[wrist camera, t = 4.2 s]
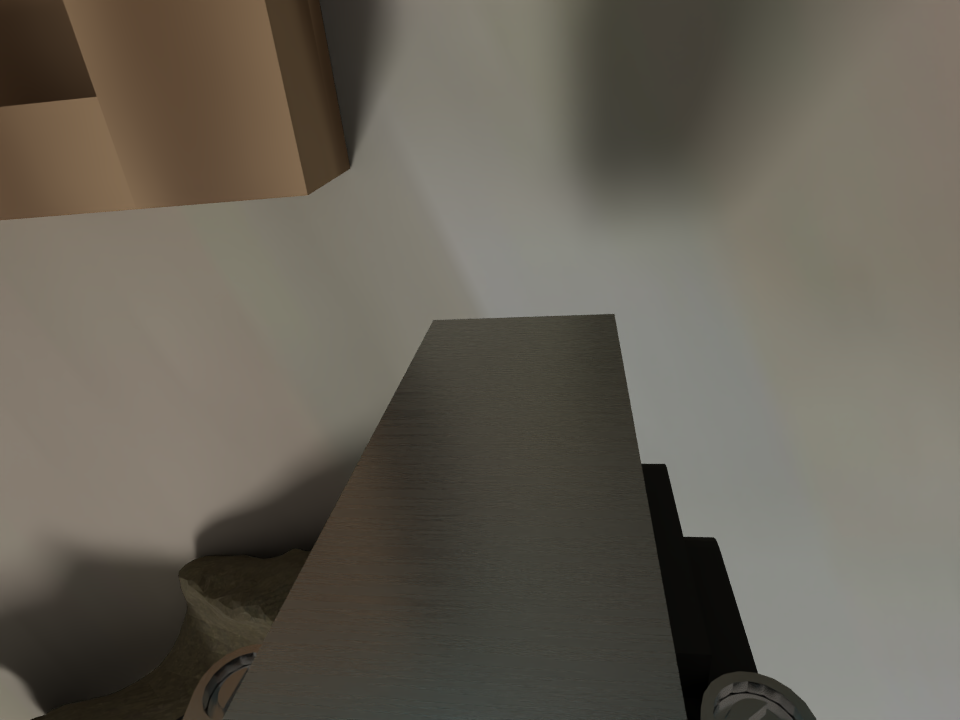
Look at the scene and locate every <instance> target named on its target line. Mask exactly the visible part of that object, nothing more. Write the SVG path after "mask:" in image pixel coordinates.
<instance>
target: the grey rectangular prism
mask: <svg viewBox="0 0 960 720" xmlns="http://www.w3.org/2000/svg"><path fill="white" fill-rule="evenodd" d="M222 720H687V716H686V711H685V705H684V700H683V694H682V688H681V683H680V677H679V672H678V666H677V661H676V655H675V649H674V644H673V638H672V633H671V627H670V622H669V616H668V610H667V605H666V599H665V594H664V588H663V583H662V577H661V571H660V566H659V560H658V555H657V549H656V543H655V538H654V532H653V527H652V521H651V516H650V510H649V504H648V499H647V493H646V488H645V482H644V477H643V471H642V465H641V460H640V454H639V449H638V443H637V438H636V432H635V426H634V421H633V415H632V410H631V404H630V399H629V393H628V387H627V382H626V376H625V371H624V365H623V360H622V354H621V348H620V343H619V337H618V332H617V326H616V321H615V315H614V314H600V315H571V316H542V317H513V318H483V319H454V320H433V322H432V324H431V326H430V328H429V330H428V331H427V333H426V335H425V337H424V339H423V341H422V343H421V345H420V347H419V348H418V350H417V352H416V354H415V356H414V358H413V360H412V362H411V364H410V365H409V367H408V369H407V371H406V373H405V375H404V377H403V379H402V381H401V382H400V384H399V386H398V388H397V390H396V392H395V394H394V396H393V398H392V399H391V401H390V403H389V405H388V407H387V409H386V411H385V413H384V415H383V416H382V418H381V420H380V422H379V424H378V426H377V428H376V430H375V432H374V433H373V435H372V437H371V439H370V441H369V443H368V445H367V447H366V449H365V450H364V452H363V454H362V456H361V458H360V460H359V462H358V464H357V466H356V467H355V469H354V471H353V473H352V475H351V477H350V479H349V481H348V483H347V484H346V486H345V488H344V490H343V492H342V494H341V496H340V498H339V500H338V501H337V503H336V505H335V507H334V509H333V511H332V513H331V515H330V517H329V518H328V520H327V522H326V524H325V526H324V528H323V530H322V532H321V534H320V535H319V537H318V539H317V541H316V543H315V545H314V547H313V549H312V551H311V553H310V554H309V556H308V558H307V560H306V562H305V564H304V566H303V568H302V570H301V571H300V573H299V575H298V577H297V579H296V581H295V583H294V585H293V587H292V588H291V590H290V592H289V594H288V596H287V598H286V600H285V602H284V604H283V605H282V607H281V609H280V611H279V613H278V615H277V617H276V619H275V621H274V622H273V624H272V626H271V628H270V630H269V632H268V634H267V636H266V638H265V639H264V641H263V643H262V645H261V647H260V649H259V651H258V653H257V655H256V656H255V658H254V660H253V662H252V664H251V666H250V668H249V670H248V672H247V673H246V675H245V677H244V679H243V681H242V683H241V685H240V687H239V689H238V690H237V692H236V694H235V696H234V698H233V700H232V702H231V704H230V706H229V707H228V709H227V711H226V713H225V715H224V717H223V719H222Z"/></svg>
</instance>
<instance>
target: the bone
mask: <svg viewBox="0 0 960 720" xmlns="http://www.w3.org/2000/svg"><path fill="white" fill-rule="evenodd" d="M311 551H312V550H310V551H303V550H300V549H292V550H290V551H289V552H287V553H285V554H283V555H281V556H277V557H274V558H267V559H261V558H256V557H250V556H248V555H235V556H222V555H212V556H204V557H200V558H198V559H195V560H193V561H191V562H190V563H188V564H187V565H185V566H184V567H183V568H182V569H181V570H180V571H179V575H178V576H179V580H180V585H181V589H182V592H183V594H184V597H185V599H186V601H187V613H186V616H185V619H184V622H183V625H182V628H181V631H180V634H179V636H178V638H177V640H176V642H175V644H174V646H173V649H172V650H171V652H170V653H169V654H168V656H167V657H166V658H165V659H164V661H163V662H162V663H161V665H160V666H159V667H158V668H156V669H155V670H153V671H152V672H151V673H149V674H148V675H147V676H145V677H144V678H142V679H141V680H139V681H137V682H135V683H133V684H132V685H130V686H128V687H126V688H124V689H122V690H120V691H118V692H115V693H113V694H110V695H107V696H103V697H98V698H94V699H90V700H85V701H81V702H76V703H71V704H65V705H63V706H61V707H59V708H56V709H52V710H51V711H50V712H48V713H47V714H46V715H43V716H40V717H36V718H34V719H31V720H176V719H178V718H179V717H181V716H183V715H184V714H185V712H186V710H187V707H188V705H189V702H190V700H191V697H192V695H193V692H194V690H195V689H196V687H197V685H198V683H199V681H200V680H201V678H202V676H203V675H204V674H205V673H206V672H207V671H208V670H209V669H210V668H211V666H212V665H213V664H215V663H216V662H217V661H219V660H220V659H221V658H223V657H224V656H225V655H227V654H229V653H231V652H233V651H235V650H237V649H239V648H242V647H246V646H250V645H254V644H262V643H263V641H264V639H265V638H266V636H267V634H268V632H269V630H270V628H271V626H272V624H273V622H274V621H275V619H276V617H277V615H278V613H279V611H280V609H281V607H282V605H283V604H284V602H285V600H286V598H287V596H288V594H289V592H290V590H291V588H292V587H293V585H294V583H295V581H296V579H297V577H298V575H299V573H300V571H301V570H302V568H303V566H304V564H305V562H306V560H307V558H308V556H309V554H310V553H311Z"/></svg>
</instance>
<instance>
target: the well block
mask: <svg viewBox="0 0 960 720" xmlns="http://www.w3.org/2000/svg"><path fill="white" fill-rule="evenodd" d="M349 169H350V164H349V159H348V153H347V148H346V143H345V137H344V132H343V126H342V121H341V116H340V110H339V105H338V99H337V94H336V89H335V83H334V78H333V72H332V67H331V62H330V56H329V51H328V45H327V40H326V35H325V29H324V24H323V18H322V13H321V8H320V2H319V0H0V220H9V219H21V218H34V217H46V216H58V215H71V214H83V213H95V212H107V211H120V210H132V209H144V208H157V207H169V206H181V205H194V204H206V203H218V202H230V201H243V200H255V199H267V198H280V197H292V196H304V195H309V194H310V193H312V192H314V191H315V190H317V189H318V188H320V187H322V186H323V185H325V184H326V183H328V182H330V181H331V180H333V179H334V178H336V177H338V176H339V175H341V174H342V173H344V172H345V171H347V170H349Z"/></svg>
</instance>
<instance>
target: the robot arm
mask: <svg viewBox="0 0 960 720" xmlns="http://www.w3.org/2000/svg"><path fill="white" fill-rule="evenodd" d="M641 465H642V471H643V477H644V482H645V488H646V493H647V499H648V504H649V510H650V516H651V521H652V527H653V532H654V538H655V543H656V549H657V555H658V560H659V566H660V571H661V577H662V583H663V588H664V594H665V599H666V605H667V610H668V616H669V622H670V627H671V633H672V638H673V644H674V649H675V655H676V661H677V666H678V672H679V677H680V683H681V688H682V694H683V700H684V705H685V711H686V716H687V720H816V718H815V716H814V715H813V713H812V712H811V710H810V709H809V707H808V706H807V704H806V703H805V702H804V701H803V700H802V699H801V698H800V697H799V696H798V695H797V694H795V693H794V692H793V691H792V690H791V689H790V688H788V687H787V686H785V685H783V684H782V683H780V682H778V681H777V680H775V679H773V678H770V677H767V676H764V675H761V674H758V672H757V669H756V665H755V662H754V659H753V656H752V652H751V649H750V646H749V643H748V639H747V636H746V633H745V630H744V626H743V623H742V620H741V617H740V613H739V610H738V607H737V604H736V600H735V597H734V594H733V591H732V587H731V584H730V581H729V578H728V574H727V571H726V568H725V565H724V561H723V558H722V555H721V552H720V549H719V546H718V543H717V541H716V539H715V538H712V537H683V534H682V529H681V525H680V521H679V517H678V513H677V508H676V504H675V500H674V496H673V492H672V488H671V483H670V479H669V475H668V471H667V467H666V465H665V464H641ZM261 645H262V644H254V645H250V646H246V647H242V648H239V649H237V650H235V651H233V652H231V653H229V654H227V655H225V656H224V657H223V658H221V659H220V660H219V661H217V662H216V663H215V664H213V665H212V666H211V668H210V669H209V670H208V671H207V672H206V673H205V674H204V675H203V676H202V678H201V680H200V681H199V683H198V685H197V687H196V689H195V690H194V692H193V695H192V697H191V700H190V702H189V705H188V707H187V710H186V712H185V714H184V715H183V716H181V717H179V718H178V719H176V720H222V719H223V717H224V715H225V713H226V711H227V709H228V707H229V706H230V704H231V702H232V700H233V698H234V696H235V694H236V692H237V690H238V689H239V687H240V685H241V683H242V681H243V679H244V677H245V675H246V673H247V672H248V670H249V668H250V666H251V664H252V662H253V660H254V658H255V656H256V655H257V653H258V651H259V649H260V647H261Z"/></svg>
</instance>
